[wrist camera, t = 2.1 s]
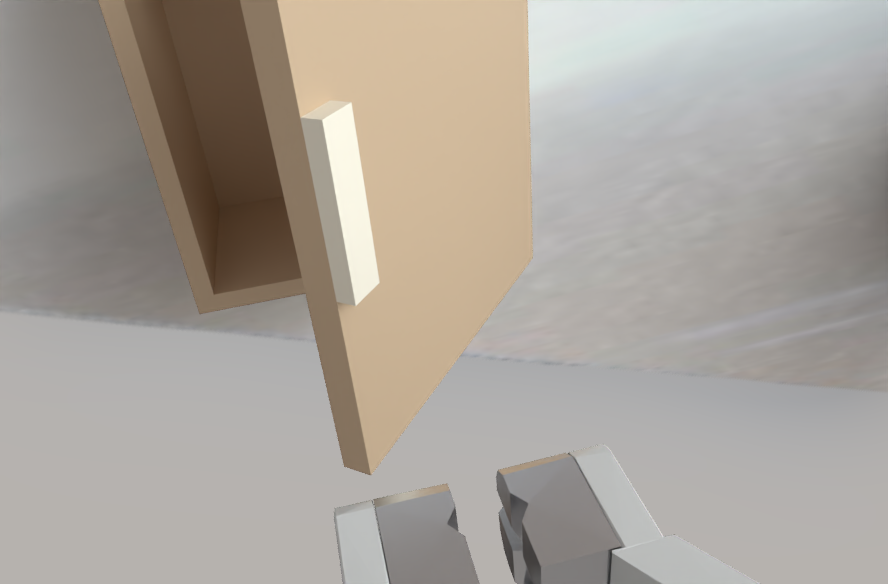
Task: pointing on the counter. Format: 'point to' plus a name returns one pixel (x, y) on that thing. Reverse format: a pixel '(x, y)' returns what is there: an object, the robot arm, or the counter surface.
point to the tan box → (208, 145)
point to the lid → (397, 187)
